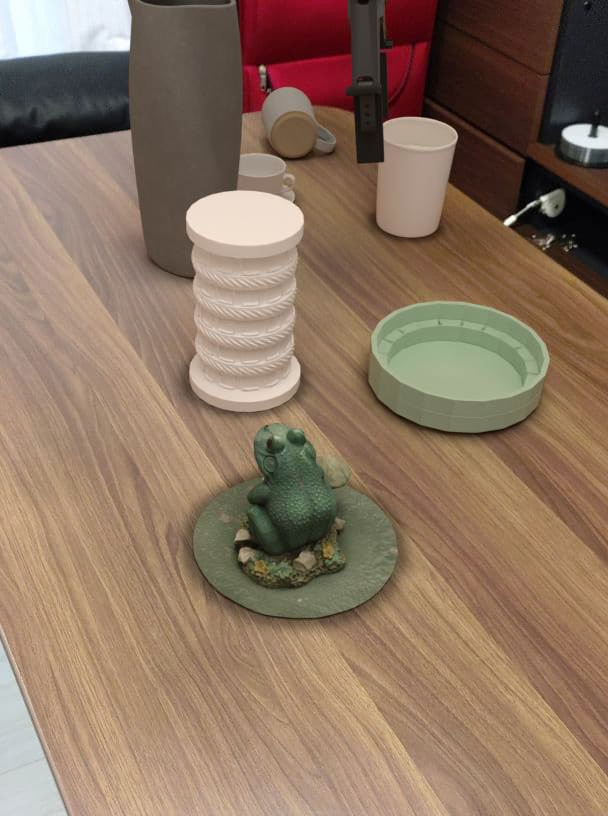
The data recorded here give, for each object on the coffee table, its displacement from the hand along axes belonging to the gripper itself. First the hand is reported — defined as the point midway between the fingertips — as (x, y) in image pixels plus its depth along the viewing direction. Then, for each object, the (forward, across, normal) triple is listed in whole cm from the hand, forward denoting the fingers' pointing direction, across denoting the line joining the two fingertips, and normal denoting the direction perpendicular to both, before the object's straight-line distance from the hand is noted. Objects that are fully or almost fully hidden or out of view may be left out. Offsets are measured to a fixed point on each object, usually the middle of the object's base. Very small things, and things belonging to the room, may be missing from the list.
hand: (373, 139), depth 102 cm
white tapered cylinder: (+18, -21, +3) cm, 28 cm away
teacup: (+15, -24, -17) cm, 33 cm away
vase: (+15, -6, -23) cm, 28 cm away
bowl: (+21, +15, +8) cm, 27 cm away
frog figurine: (+20, +41, -6) cm, 46 cm away
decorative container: (+18, +18, -14) cm, 29 cm away
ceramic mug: (+15, -41, -14) cm, 46 cm away
